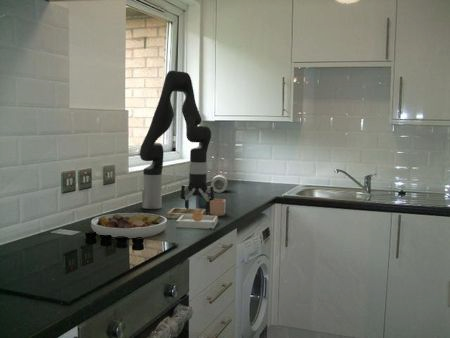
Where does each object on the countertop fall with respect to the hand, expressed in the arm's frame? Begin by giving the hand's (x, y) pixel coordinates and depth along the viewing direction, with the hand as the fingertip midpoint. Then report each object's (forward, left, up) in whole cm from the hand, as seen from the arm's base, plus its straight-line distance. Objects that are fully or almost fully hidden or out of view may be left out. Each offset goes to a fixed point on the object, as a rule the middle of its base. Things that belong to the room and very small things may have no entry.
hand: (197, 209), depth 214 cm
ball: (0, 0, -3) cm, 3 cm away
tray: (0, 0, -7) cm, 7 cm away
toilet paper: (-2, +99, -7) cm, 99 cm away
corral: (-8, +18, -7) cm, 21 cm away
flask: (-2, +35, -7) cm, 36 cm away
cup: (+6, +24, -7) cm, 26 cm away
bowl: (-25, -18, -7) cm, 32 cm away
